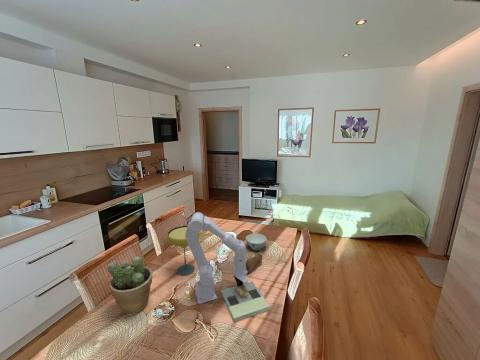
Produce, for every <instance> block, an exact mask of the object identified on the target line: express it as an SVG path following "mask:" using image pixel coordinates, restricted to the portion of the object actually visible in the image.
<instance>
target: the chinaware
mask: <svg viewBox="0 0 480 360" xmlns="http://www.w3.org/2000/svg"><path fill="white" fill-rule="evenodd" d="M267 240H268V239H267V236H265V235H264V234H262V233H250V234H248V235H246V237H245V242H246V244H247V246H248V247H250V249H251V250H253V251H260V250H261V249H262V248H263V247H265V245H266V243H267Z"/></svg>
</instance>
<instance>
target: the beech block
mask: <svg viewBox="0 0 480 360" xmlns="http://www.w3.org/2000/svg"><path fill="white" fill-rule="evenodd" d="M238 295H239V297H240V298H244V297H247V296H248V289H247V287H246V285H245V286H244V285H241V286H238Z"/></svg>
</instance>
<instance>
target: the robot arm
mask: <svg viewBox="0 0 480 360" xmlns="http://www.w3.org/2000/svg"><path fill="white" fill-rule="evenodd" d="M186 226H187V230H186V234H185V237H186V240H187V242H188V247H189V249H190V252H191V254H192V257H193V259H194V261H195V264H196V266H197V270H198V271H197V272H198V275H199V280H198V281H196V282H195V283H194V289H195V292H194V293H195V298H196V301H197V304H199V305H200V304H203V303H207V302H211V301H213V300H217V298H218V297H217V295H216V292H215V277H214V267H213V265H212V264H211V263H210V262H209V260H207V257H206V254H205V252H204V250H203V247H202V245H201V242H200V240H199V238H198V237H197V233H199V234H200V232H203V233H204V232H207V231H208V232H210V233H212V234H214V236H216V237H218V238H219V239H220V240H221V243H222V244H223V245H225V246H226V247H227V248H228V249H230V250H231V251H233V252H234V257H233V261H234V264H233V265H232V269H233V278H234V280H235V283H236V286H237V287H238V286H241V285H244V286H245V285H248V278H247V274H248V273H249V272H247V270H246V261H247V260H246V259H247V257H246V255H247V249H246V243H245V242H244V241H243V240H241V239H238V238H236V237H235V234H234V233H230V232H225V231H224V230H223V229H222V228H220V227H219V226H218V225H216V223H214V222H213V221H212V220H211V219H210V218H209V217H208V216H207V215H205V214H204V213H202V212H199V211H197V212H194V213H193V214H192V215H191V217H190V218H189V221H188V224H187V225H186Z"/></svg>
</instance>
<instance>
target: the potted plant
mask: <svg viewBox="0 0 480 360" xmlns="http://www.w3.org/2000/svg"><path fill="white" fill-rule="evenodd" d="M143 262H144V261H143V258H142V257H140V256H136V257H135V256H134V257H133V259H132V261H131V262H130V261H128V260H124V261H122V262H121V265H119V263H117V262H116V261H112V262H110V263H109V264H108V265H107V266H106V269H107V271H108V273H110V275H111V277H110V280H109V282H108V287H109V290H110V293H111V295H112V297H113V299H114V300H115V303H116V304H117V306H118V309H120V310H121V312H122V313H123V314H124V315H127V314H133V315H135V314H134V313H136V314H138V313H139V311H140V312H141V311H143V310H144V309H145V308H146V307H147V305H148V301H149V298H150V292H151V287H152V286H151V285H152V283H153V271H152V269H151V267H148V266H145V265H144V263H143ZM137 312H138V313H137Z"/></svg>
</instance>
